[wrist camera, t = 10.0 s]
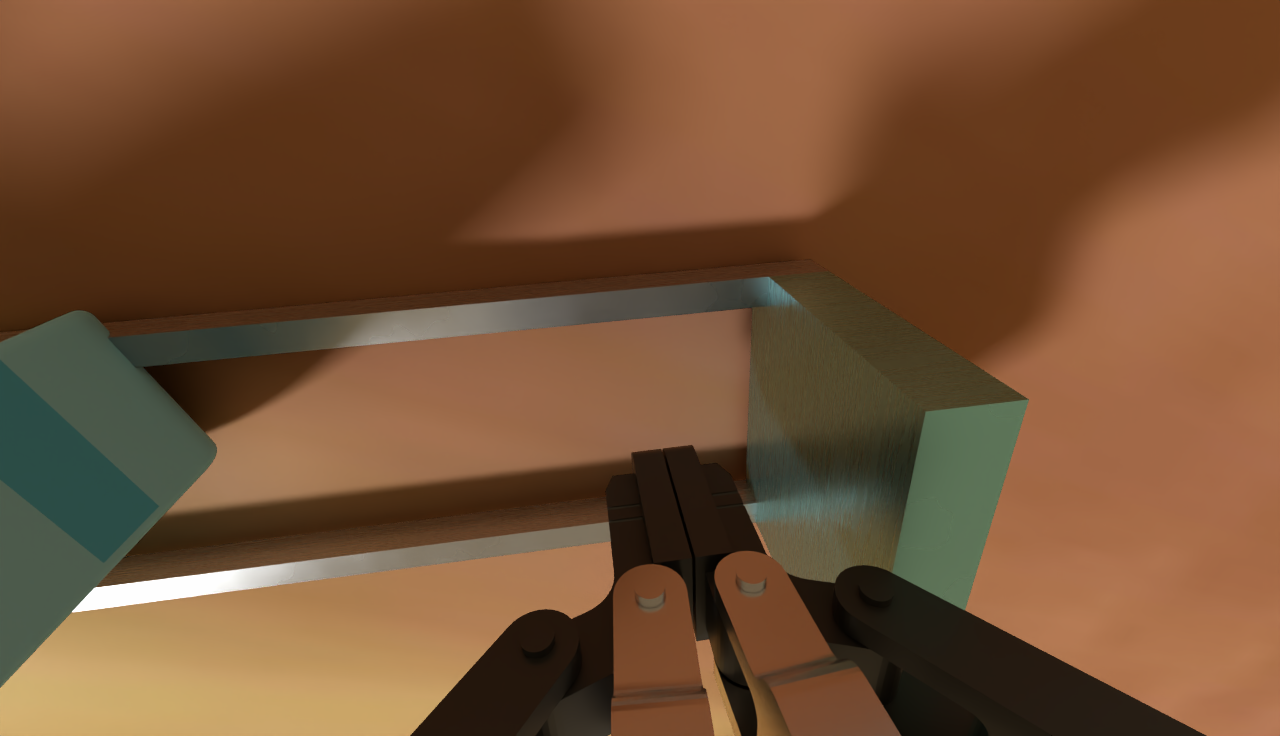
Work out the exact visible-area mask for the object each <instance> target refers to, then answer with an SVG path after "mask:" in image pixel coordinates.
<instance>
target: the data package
mask: <svg viewBox="0 0 1280 736" xmlns="http://www.w3.org/2000/svg"><path fill="white" fill-rule="evenodd" d="M109 334H110V332H109V331H108V330H107V329H106V327H105V326H104V325H103V324H102V323H101V322H100V321H99V320H98V319H97V318H96V317H95V316H94V315H93V314H91V313H89V312H87V311H82V310H77V311H72V312H69V313H67V314H65V315H62V316H60V317H57V318H55V319H53V320H50V321H48V322H46V323H43V324H41V325H39V326H36V327H34V328H32V329H30V330H27V331H25V332H23V333H20V334H18V335H16V336H13V337H11V338H9V339H6V340H4V341H2V342H0V688H1V686H2V685H3V684H4V683H5V682H6V681H7V680H8V679H9V678H10V677H11V676H12V675H13V674H14V673H15V672H16V671H17V670H18V669H19V667H20V666H21V665H22V664H23V663H24V662H25V661H26V660H27V659H28V658H29V657H30V656H31V655H32V654H33V653H34V652H35V651H36V649H37V648H38V647H39V646H40V645H41V644H42V643H43V642H44V641H45V640H46V639H47V638H48V637H49V636H50V635H51V634H52V633H53V631H54V630H55V629H56V628H57V627H58V626H59V625H60V624H61V623H62V622H63V621H64V620H65V619H66V618H67V617H68V616H69V615H70V613H71V612H72V611H73V610H74V609H75V608H76V607H77V606H78V605H79V604H80V603H81V602H82V601H83V600H84V599H85V598H86V597H87V596H88V594H89V593H90V592H91V591H92V590H93V589H94V588H95V587H96V586H97V585H98V584H99V583H100V582H101V581H102V580H103V579H104V578H105V576H106V575H107V574H108V573H109V572H110V571H111V570H112V569H113V568H114V567H115V566H116V565H117V564H118V563H119V562H120V561H121V560H122V558H123V557H124V556H125V555H126V554H127V553H128V552H129V551H130V550H131V549H132V548H133V547H134V546H135V545H136V544H137V543H138V542H139V541H140V539H141V538H142V537H143V536H144V535H145V534H146V533H147V532H148V531H149V530H150V529H151V528H152V527H153V526H154V525H155V524H156V523H157V521H158V520H159V519H160V518H161V517H162V516H163V515H164V514H165V513H166V512H167V511H168V510H169V509H170V508H171V507H172V506H173V505H174V503H175V502H176V501H177V500H178V499H179V498H180V497H181V496H182V495H183V494H184V493H185V492H186V491H187V490H188V489H189V488H190V487H191V486H192V484H193V483H194V482H195V481H196V480H197V479H198V478H199V477H200V476H201V475H202V474H203V473H204V472H205V471H206V470H207V468H208V467H209V466H210V465H211V463H212V462H213V460H214V459H215V457H216V453H217V447H216V444H215V443H214V442H213V441H212V440H211V439H210V437H209V436H208V435H207V434H206V433H205V432H204V431H203V430H202V429H201V428H200V427H199V426H198V425H197V424H196V423H195V422H194V421H193V419H192V418H191V417H190V416H189V415H188V414H187V413H186V412H185V411H184V410H183V409H182V408H181V407H180V406H179V405H178V404H177V403H176V402H175V400H174V399H173V398H172V397H171V396H170V395H169V394H168V393H167V392H166V391H165V390H164V389H163V388H162V387H161V386H160V385H159V384H158V382H157V381H156V380H155V379H154V378H153V377H152V376H151V375H150V374H149V373H148V372H147V371H146V370H145V369H144V368H143V367H136V368H135V367H134V366H133V365H132V363H131V362H130V361H129V360H128V359H127V358H126V357H125V356H124V355H123V354H122V353H121V352H120V351H119V350H118V349H117V348H116V347H115V345H114V344H113V343H112V342H111V341H110V340H109V339H108V336H109Z"/></svg>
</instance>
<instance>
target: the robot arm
mask: <svg viewBox="0 0 1280 736" xmlns="http://www.w3.org/2000/svg"><path fill="white" fill-rule="evenodd" d="M631 457H632V471H633V474H625V475H617V476H612V478H611V481H610V483H609V485H608V487H607V489H606V491H605V492H606V501H607V511H608V520H609V529H610V539H611V548H612V557H613V567H614V583H613V586H612V589H611V591H610V592H609V594H608V596H607V597H606V598H605V599H604V600H603V601H602V602H601V603H600V604H599V605H598V606H596V607H595V608H593V609H592V610H590V611H588V612H586V613H584V614H582V615H579V616H577V617H575V618H573V619H570V618H569V617H568V616H567V615H565V614H564V613H562V612H559V611H555V610H547V609H545V610H537V611H533V612H530V613H527V614H525V615H523V616H521V617H520V618H518V619H517V620H515V621H514V622H513V623H512V624H511V625H510V626H509V627H508V628H507V629H506V630H505V631H504V632H503V633H502V635H501V636H500V637H499V638H498V639H497V640H496V641H495V642H494V643H493V645H492V646H491V647H490V648H489V649H488V650H487V651H486V652H485V653H484V655H483V656H482V657H481V658H480V659H479V660H478V661H477V662H476V663H475V664H474V666H473V667H472V668H471V669H470V670H469V671H468V672H467V673H466V674H465V676H464V677H463V678H462V679H461V680H460V681H459V682H458V683H457V684H456V686H455V687H454V688H453V689H452V690H451V691H450V692H449V693H448V694H447V696H446V697H445V698H444V699H443V700H442V701H441V702H440V703H439V704H438V706H437V707H436V708H435V709H434V710H433V711H432V712H431V713H430V714H429V715H428V717H427V718H426V719H425V720H424V721H423V722H422V723H421V724H420V725H419V727H418V728H417V729H416V730H415V731H414V732H413V733H412V734H411V735H410V736H608V735H610V734H611V736H714V730H713V724H712V718H711V712H710V706H709V701H708V696H707V692H706V689H705V688H703V685H702V680H701V674H700V668H699V662H698V655H697V649H696V643H695V637H696V641H700V640H707V639H709V640H710V643H711V647H712V651H713V655H714V676H715V680H716V683H717V686H718V689H719V691H720V694H721V697H722V700H723V703H724V706H725V709H726V712H727V715H728V718H729V720H730V723H731V726H732V729H733V732H734V735H735V736H1206V735H1204V734H1202V733H1200V732H1198V731H1196V730H1194V729H1193V728H1191V727H1189V726H1187V725H1185V724H1183V723H1181V722H1179V721H1177V720H1175V719H1173V718H1171V717H1169V716H1167V715H1165V714H1164V713H1162V712H1160V711H1158V710H1156V709H1154V708H1152V707H1150V706H1148V705H1146V704H1144V703H1142V702H1140V701H1138V700H1137V699H1135V698H1133V697H1131V696H1129V695H1127V694H1125V693H1123V692H1121V691H1119V690H1117V689H1115V688H1113V687H1111V686H1110V685H1108V684H1106V683H1104V682H1102V681H1100V680H1098V679H1096V678H1094V677H1092V676H1090V675H1088V674H1086V673H1084V672H1082V671H1081V670H1079V669H1077V668H1075V667H1073V666H1071V665H1069V664H1067V663H1065V662H1063V661H1061V660H1059V659H1057V658H1055V657H1054V656H1052V655H1050V654H1048V653H1046V652H1044V651H1042V650H1040V649H1038V648H1036V647H1034V646H1032V645H1030V644H1028V643H1027V642H1025V641H1023V640H1021V639H1019V638H1017V637H1015V636H1013V635H1011V634H1009V633H1007V632H1005V631H1003V630H1001V629H999V628H998V627H996V626H994V625H992V624H990V623H988V622H986V621H984V620H982V619H980V618H978V617H976V616H974V615H972V614H971V613H969V612H967V611H965V610H963V609H961V608H959V607H957V606H955V605H953V604H951V603H949V602H947V601H945V600H943V599H942V598H940V597H938V596H936V595H934V594H932V593H930V592H928V591H926V590H924V589H922V588H920V587H918V586H916V585H915V584H913V583H911V582H909V581H907V580H905V579H903V578H901V577H899V576H897V575H895V574H893V573H891V572H889V571H887V570H885V569H882V568H879V567H875V566H868V565H857V566H852V567H849V568H847V569H845V570H843V571H842V572H841V573H840V574H839V575H838V577H837V578H836V581H835V583H832V582H824V581H816V580H809V579H803V578H799V577H796V576H793V575H791V574H789V573H787V572H786V571H785V570H784V568H783V567H782V566H781V565H780V564H779V563H778V562H777V561H776V560H774V559H773V558H771V557H769V556H768V555H767V554H766V552H765V550H764V548H763V545H762V543H761V541H760V539H759V537H758V534H757V532H756V530H755V528H754V525H753V523H752V521H751V519H750V517H749V514H748V512H747V510H746V508H745V506H744V505H743V501H742V499H741V496H740V494H739V493H738V490H737V488H736V485H735V483H734V481H733V479H732V476H731V475H730V474H729V473H728V472H727V471H725V470H724V469H723V468H722V467H721V466H720V465H718V464H717V463H712V464H704V465H700V463H699V460H698V457H697V455H696V452H695V449H694V447H693V446H692V445H688V446H680V447H672V448H664V449H663V450H661V449H656V450H648V451H640V452H632V453H631ZM693 629H694V630H693ZM694 633H695V637H694Z"/></svg>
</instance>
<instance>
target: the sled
mask: <svg viewBox="0 0 1280 736" xmlns="http://www.w3.org/2000/svg"><path fill="white" fill-rule="evenodd" d="M744 308H752V333H751V359H750V385H749V410H748V436H747V462H746V479H745V480H737V481H734V483H735V485H736V488H737V490H738V493H739V494H740V496H741V499H742V501H743V505H744V506H745V508H746V510H747V512H748V514H749V517H750V519H751V521H752V523H754V522H756V523H757V526H758V528H759V530H760V532H761V534H762V537H763V539H764V541H765V543H766V545H767V548H768V550H769V552H770V554H771V556H772V558H773V559H774V560H776V561H777V562H778V563H779V564H780V565H781V566H782V567H783V568H784V570H785V571H786V572H787V573H789V574H791V575H793V576H796V577H799V578H803V579H809V580H816V581H824V582H832V583H835V581H836V578H837V577H838V575H839V574H840V573H841V572H842V571H843V570H845V569H847V568H849V567H852V566H857V565H868V566H875V567H879V568H882V569H885V570H887V571H889V572H891V573H893V574H895V575H897V576H899V577H901V578H903V579H905V580H907V581H909V582H911V583H913V584H915V585H916V586H918V587H920V588H922V589H924V590H926V591H928V592H930V593H932V594H934V595H936V596H938V597H940V598H942V599H943V600H945V601H947V602H949V603H951V604H953V605H955V606H957V607H959V608H961V609H963V610H965V608H966V605H967V602H968V598H969V595H970V592H971V588H972V585H973V582H974V579H975V575H976V572H977V569H978V565H979V562H980V559H981V556H982V552H983V549H984V546H985V542H986V539H987V536H988V533H989V529H990V526H991V523H992V519H993V516H994V513H995V509H996V506H997V503H998V500H999V496H1000V493H1001V490H1002V486H1003V483H1004V480H1005V477H1006V473H1007V470H1008V467H1009V463H1010V460H1011V457H1012V454H1013V450H1014V447H1015V444H1016V440H1017V437H1018V434H1019V430H1020V427H1021V424H1022V421H1023V417H1024V414H1025V411H1026V407H1027V404H1028V401H1029V399H1027V398H1026V397H1024V396H1023V395H1021V394H1019V393H1018V392H1016V391H1015V390H1013V389H1012V388H1010V387H1009V386H1007V385H1005V384H1004V383H1002V382H1001V381H999V380H998V379H996V378H995V377H993V376H991V375H990V374H988V373H987V372H985V371H984V370H982V369H980V368H979V367H977V366H976V365H974V364H973V363H971V362H970V361H968V360H966V359H965V358H963V357H962V356H960V355H959V354H957V353H956V352H954V351H952V350H951V349H949V348H948V347H946V346H945V345H943V344H942V343H940V342H938V341H937V340H935V339H934V338H932V337H931V336H929V335H927V334H926V333H924V332H923V331H921V330H920V329H918V328H917V327H915V326H913V325H912V324H910V323H909V322H907V321H906V320H904V319H903V318H901V317H899V316H898V315H896V314H895V313H893V312H892V311H890V310H888V309H887V308H885V307H884V306H882V305H881V304H879V303H878V302H876V301H874V300H873V299H871V298H870V297H868V296H867V295H865V294H864V293H862V292H860V291H859V290H857V289H856V288H854V287H853V286H851V285H850V284H848V283H846V282H845V281H843V280H842V279H840V278H839V277H837V276H835V275H834V274H832V273H831V272H829V271H828V270H826V269H825V268H823V267H821V266H820V265H818V264H817V263H815V262H814V261H812V260H811V259H807V260H796V261H785V262H774V263H763V264H752V265H740V266H729V267H718V268H707V269H696V270H685V271H674V272H663V273H652V274H641V275H630V276H618V277H607V278H596V279H585V280H574V281H563V282H552V283H541V284H530V285H519V286H507V287H496V288H485V289H474V290H463V291H452V292H441V293H430V294H419V295H408V296H397V297H385V298H374V299H363V300H352V301H341V302H330V303H319V304H308V305H297V306H286V307H275V308H263V309H252V310H241V311H230V312H219V313H208V314H197V315H186V316H175V317H164V318H152V319H141V320H130V321H119V322H108V323H102V324H103V325H104V326H105V327H106V329H107V330H108V331H109V332H110V334H109V336H108V339H109V340H110V341H111V342H112V343H113V344H114V345H115V347H116V348H117V349H118V350H119V351H120V352H121V353H122V354H123V355H124V356H125V357H126V358H127V359H128V360H129V361H130V362H131V363H132V365H133V366H134V367H135V368H136V367H146V366H156V365H167V364H177V363H187V362H198V361H208V360H218V359H228V358H239V357H249V356H259V355H270V354H280V353H290V352H301V351H311V350H321V349H332V348H342V347H352V346H362V345H373V344H383V343H393V342H404V341H414V340H424V339H435V338H445V337H455V336H465V335H476V334H486V333H496V332H507V331H517V330H527V329H538V328H548V327H558V326H568V325H579V324H589V323H599V322H610V321H620V320H630V319H641V318H651V317H661V316H671V315H682V314H692V313H702V312H713V311H723V310H733V309H744ZM25 331H27V330H19V331H8V332H0V342H2V341H4V340H6V339H9V338H11V337H13V336H16V335H18V334H20V333H23V332H25ZM610 541H611V539H610V529H609V520H608V511H607V501H606V497H601V498H593V499H585V500H577V501H568V502H560V503H552V504H544V505H536V506H528V507H520V508H512V509H504V510H496V511H488V512H480V513H472V514H464V515H456V516H448V517H440V518H432V519H424V520H416V521H408V522H400V523H392V524H384V525H376V526H368V527H360V528H352V529H344V530H335V531H327V532H319V533H311V534H303V535H295V536H287V537H279V538H271V539H263V540H255V541H247V542H239V543H231V544H223V545H215V546H207V547H199V548H191V549H183V550H175V551H167V552H159V553H151V554H143V555H135V556H127V557H123V558H122V560H121V561H120V562H119V563H118V564H117V565H116V566H115V567H114V568H113V569H112V570H111V571H110V572H109V573H108V574H107V575H106V576H105V578H104V579H103V580H102V581H101V582H100V583H99V584H98V585H97V586H96V587H95V588H94V589H93V590H92V591H91V592H90V593H89V594H88V596H87V597H86V598H85V599H84V600H83V601H82V602H81V603H80V604H79V605H78V606H77V607H76V608H75V609H74V610H73V611H72V612H78V611H85V610H93V609H100V608H108V607H116V606H123V605H131V604H138V603H146V602H154V601H161V600H169V599H176V598H184V597H192V596H199V595H207V594H214V593H222V592H230V591H237V590H245V589H252V588H260V587H268V586H275V585H283V584H290V583H298V582H306V581H313V580H321V579H328V578H336V577H344V576H351V575H359V574H366V573H374V572H382V571H389V570H397V569H404V568H412V567H420V566H427V565H435V564H442V563H450V562H458V561H465V560H473V559H480V558H488V557H496V556H503V555H511V554H518V553H526V552H534V551H541V550H549V549H556V548H564V547H572V546H579V545H587V544H594V543H602V542H610Z"/></svg>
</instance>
